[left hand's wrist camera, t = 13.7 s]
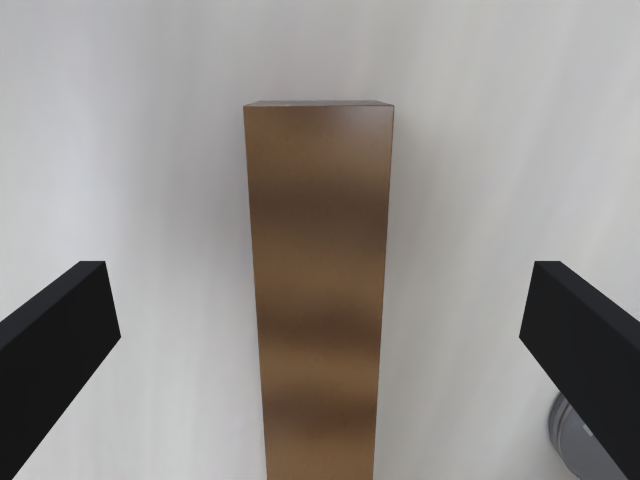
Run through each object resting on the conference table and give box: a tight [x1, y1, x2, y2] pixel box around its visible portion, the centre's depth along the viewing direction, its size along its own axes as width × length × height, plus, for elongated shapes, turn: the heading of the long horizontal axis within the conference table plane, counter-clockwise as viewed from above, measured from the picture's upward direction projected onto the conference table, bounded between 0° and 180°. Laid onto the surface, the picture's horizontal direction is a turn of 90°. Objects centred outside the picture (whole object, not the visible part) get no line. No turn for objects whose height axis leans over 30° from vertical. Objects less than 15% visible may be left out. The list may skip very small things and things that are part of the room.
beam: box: [243, 101, 394, 480], centre depth 38 cm, size 64×9×7 cm, turn 0°
